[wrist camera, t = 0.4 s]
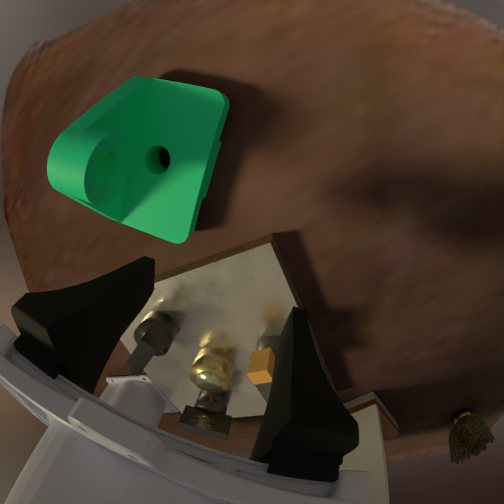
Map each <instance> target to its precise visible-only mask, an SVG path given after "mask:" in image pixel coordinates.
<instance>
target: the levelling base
mask: <svg viewBox="0 0 504 504" xmlns="http://www.w3.org/2000/svg"><path fill="white" fill-rule="evenodd" d="M293 306H295V307H298V308H301V309H304V307H303V305H302V302H301V300H300V298H299V295H298V293H297V290H296V288H295V285H294V283H293V281H292V278H291V276H290V273H289V271H288V269H287V266H286V264H285V262H284V259H283V257H282V254H281V252H280V250H279V247H278V245H277V243H276V240H275V238H274V236H273V233H272V234H270V235H267V236H264V237H261V238H258V239H256V240H253V241H250V242H247V243H245V244H242V245H239V246H236V247H233V248H231V249H228V250H225V251H222V252H220V253H217V254H214V255H211V256H209V257H206V258H203V259H200V260H198V261H195V262H192V263H190V264H187V265H184V266H181V267H179V268H176V269H173V270H171V271H168V272H165V273H162V274H160V275H157V276H155V277H154V291H153V293H152V295H151V297H150V298H149V300H148V302H147V303H146V305H145V306H144V308H143V309H142V310H141V312H140V313H139V314H138V316H137V317H136V318H135V319H134V321H133V322H132V323H131V325H130V326H129V327H128V328H127V330H126V331H125V332H124V334H123V335H122V337H121V338H120V340H121V341H122V342H123V344H124V345H125V347H126V348H127V349H128V351H129V352H130V353H131V356H130V357H129V359H128V361H127V362H126V364H125V366H124V367H125V368H126V369H127V370H129V371H130V372H132V373H133V374H134V375H136V376H137V377H138V376H139V375H140V373H141V372H142V371H143V370H144V371H145V372H146V373H147V375H148V376H149V377H150V378H151V380H152V381H153V382H154V383H155V384H156V385H157V387H158V388H159V389H160V390H161V391H162V392H163V393H164V395H165V396H166V397H167V398H168V399H169V400H170V401H171V402H172V404H173V405H174V406H175V407H176V408H177V409H178V410H179V411H180V412H181V413H182V416H181V419H180V421H179V424H180V429H183V430H187V431H190V432H194V433H198V434H202V435H206V436H210V437H214V438H218V439H223V440H227V437H228V434H229V430H230V426H231V422H232V418H236V417H247V416H257V415H264V413H265V409H266V406H267V403H266V401H265V400H264V398H263V397H262V395H261V394H260V392H259V391H258V389H257V388H256V386H255V385H254V384H253V383H252V381H251V380H250V378H249V376H248V375H247V370H248V366H249V361H250V357H251V353H252V351H256V346H257V344H258V343H259V342H260V341H261V340H262V339H264V338H267V337H271V336H277V337H280V335H281V332H282V330H283V328H284V326H285V323H286V321H287V319H288V317H289V314H290V312H291V310H292V307H293ZM307 318H308V317H307ZM308 323H309V327H310V332H311V335H312V339H313V342H314V346H315V349H316V352H317V355H318V357H319V360H320V363H321V365H322V367H323V370H324V372H325V374H326V376H327V378H328V380H329V382H330V384H331V386H332V388H333V389H334V391H335V392H336V388H335V386H334V383H333V381H332V378H331V375H330V373H329V370H328V368H327V365H326V363H325V360H324V357H323V355H322V352H321V350H320V347H319V345H318V342H317V340H316V337H315V335H314V332H313V330H312V327H311V325H310V322H309V320H308Z"/></svg>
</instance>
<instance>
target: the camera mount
mask: <svg viewBox="0 0 504 504" xmlns="http://www.w3.org/2000/svg"><path fill="white" fill-rule="evenodd" d="M229 107H230V103H229V99H228V98H227V96H226V95H224V94H223V93H221V92H219V91H217V90H214V89H210V88H205V87H201V86H196V85H191V84H185V83H180V82H174V81H168V80H162V79H155V78H147V77H139V76H135V77H133V78H132V79H130V80H129V81H127V82H126V83H124V84H123V85H121V86H120V87H118V88H117V89H115V90H114V91H113V92H111V93H110V94H109V95H107V96H106V97H104V98H103V99H102V100H100V101H99V102H98V103H97V104H95V105H94V106H93V107H91V108H90V109H89V110H88V111H86V112H85V113H84V114H83V115H82V116H80V117H79V118H78V119H77V120H76V121H74V122H73V123H72V124H71V125H70V126H69V127H68V128H66V129H65V130H64V131H63V132H62V133H61V134H60V135H59V136H58V138H57V139H56V141H55V142H54V144H53V146H52V148H51V151H50V154H49V157H48V163H47V174H48V179H49V182H50V184H51V185H52V187H53V188H54V189H56V190H57V191H59V192H61V193H63V194H65V195H66V196H68V197H70V198H72V199H74V200H76V201H77V202H79V203H81V204H83V205H85V206H87V207H89V208H90V209H92V210H94V211H96V212H98V213H100V214H102V215H104V216H105V217H107V218H110V219H113V220H115V221H118V222H120V223H123V224H125V225H128V226H131V227H133V228H136V229H138V230H141V231H144V232H146V233H149V234H151V235H154V236H157V237H159V238H162V239H165V240H167V241H170V242H173V243H182V242H184V241H185V240H186V239H187V238H188V237H189V236H190V235H191V234H192V233H193V232H194V230H195V226H196V222H197V218H198V214H199V210H200V206H201V203H202V200H203V199H204V198H205V197H206V195H207V191H208V187H209V184H210V180H211V177H212V173H213V170H214V166H215V163H216V159H217V156H218V153H219V149H220V146H221V143H222V141H219V139H220V136H221V133H222V130H223V126H224V123H225V120H226V117H227V114H228V111H229ZM163 147H164V148H165V149H167V151H168V152H169V155H170V165H169V167H168V169H166V168H165V167H163V166H162V164H161V163H160V160H159V153H160V150H161V149H162V148H163Z"/></svg>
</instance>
